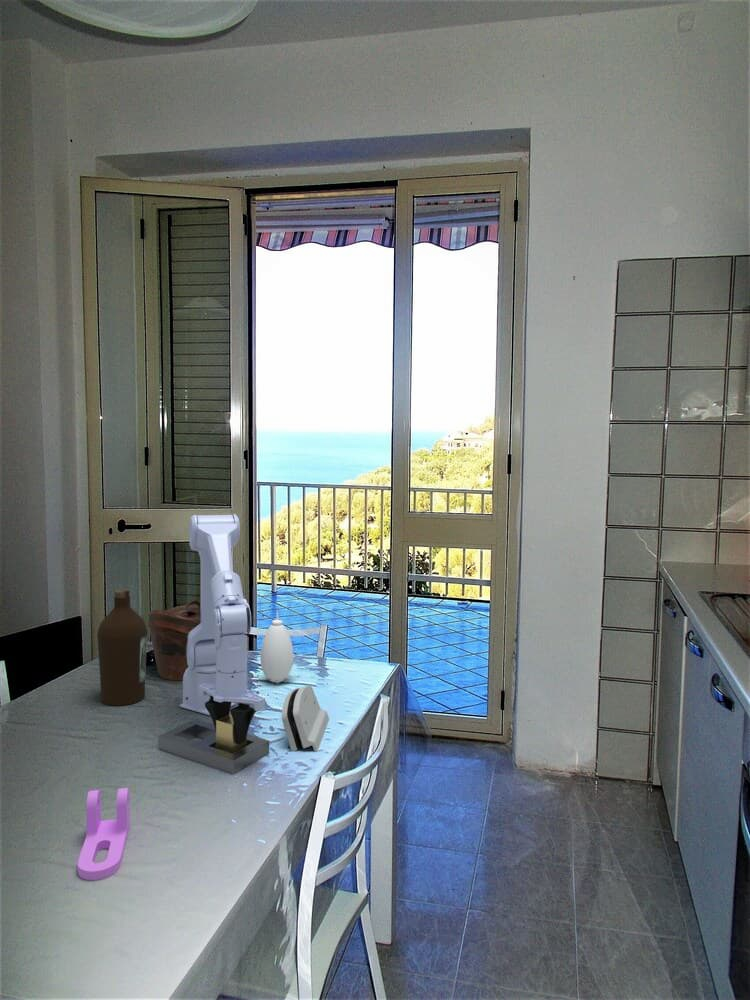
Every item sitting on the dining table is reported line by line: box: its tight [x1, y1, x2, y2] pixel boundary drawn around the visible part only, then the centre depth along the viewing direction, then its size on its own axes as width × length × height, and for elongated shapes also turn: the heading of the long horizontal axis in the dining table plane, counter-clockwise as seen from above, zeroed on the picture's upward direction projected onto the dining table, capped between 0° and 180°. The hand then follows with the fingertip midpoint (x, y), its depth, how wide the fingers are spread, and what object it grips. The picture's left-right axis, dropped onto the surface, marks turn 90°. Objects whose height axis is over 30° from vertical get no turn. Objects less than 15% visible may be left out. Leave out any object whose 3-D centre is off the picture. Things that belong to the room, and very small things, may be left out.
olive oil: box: [96, 588, 148, 707], centre depth 158 cm, size 11×11×25 cm
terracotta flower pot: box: [147, 600, 201, 681], centre depth 178 cm, size 18×20×18 cm
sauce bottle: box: [260, 610, 294, 684], centre depth 171 cm, size 8×8×18 cm
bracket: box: [77, 787, 131, 881], centre depth 100 cm, size 13×6×7 cm, turn 13°
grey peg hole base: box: [157, 718, 270, 775], centre depth 133 cm, size 19×10×2 cm, turn 60°
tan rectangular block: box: [216, 712, 247, 754], centre depth 131 cm, size 4×4×6 cm
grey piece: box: [281, 685, 330, 753], centre depth 142 cm, size 17×5×10 cm, turn 175°
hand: (231, 739), depth 131 cm, fingers closed on tan rectangular block, 4 cm apart
